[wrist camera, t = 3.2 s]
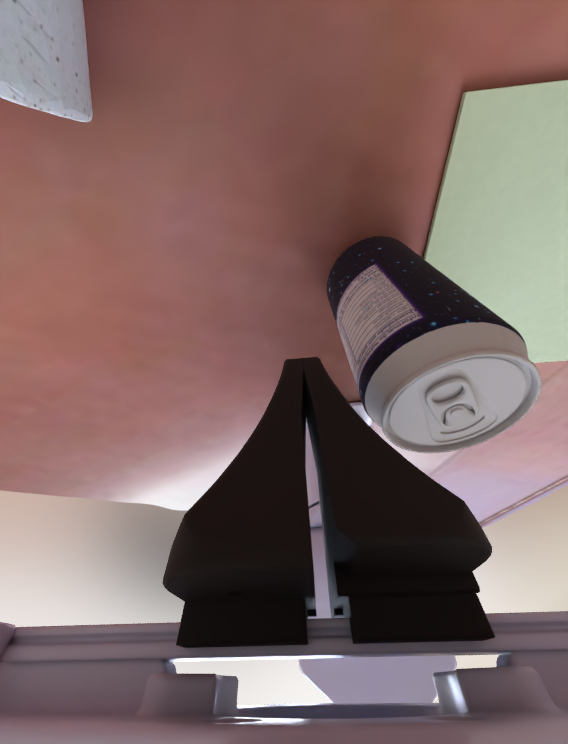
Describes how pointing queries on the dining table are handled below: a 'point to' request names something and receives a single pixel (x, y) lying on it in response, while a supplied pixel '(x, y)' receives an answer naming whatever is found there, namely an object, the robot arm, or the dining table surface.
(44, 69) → the white cylinder
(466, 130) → the mat
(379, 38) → the dining table surface
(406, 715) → the robot arm
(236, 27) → the dining table surface
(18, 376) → the dining table surface
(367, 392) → the beverage can
